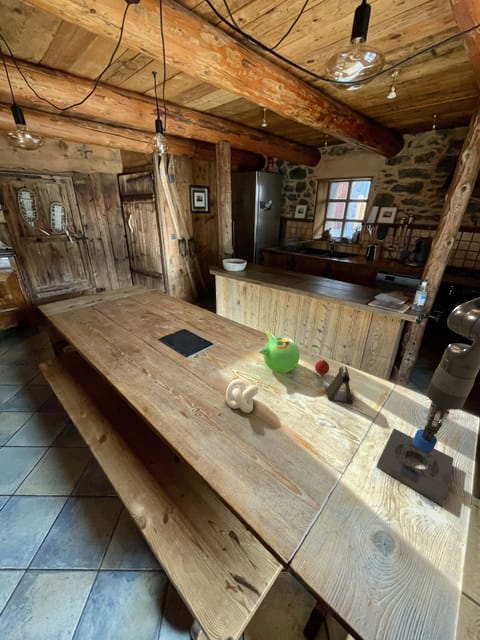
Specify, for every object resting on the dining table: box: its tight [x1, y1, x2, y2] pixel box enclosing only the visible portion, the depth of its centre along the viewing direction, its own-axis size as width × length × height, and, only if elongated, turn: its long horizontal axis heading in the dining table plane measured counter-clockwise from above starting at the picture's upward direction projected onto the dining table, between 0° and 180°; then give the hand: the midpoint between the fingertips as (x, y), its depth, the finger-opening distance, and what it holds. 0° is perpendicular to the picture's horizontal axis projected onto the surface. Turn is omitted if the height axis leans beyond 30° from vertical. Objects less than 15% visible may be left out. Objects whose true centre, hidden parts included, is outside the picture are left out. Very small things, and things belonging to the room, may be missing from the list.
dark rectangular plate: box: [375, 428, 454, 507], centre depth 77 cm, size 16×16×2 cm
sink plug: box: [413, 428, 438, 453], centre depth 72 cm, size 5×5×8 cm
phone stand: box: [326, 366, 354, 404], centre depth 101 cm, size 9×6×12 cm, turn 78°
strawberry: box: [314, 359, 330, 376], centre depth 114 cm, size 6×6×8 cm
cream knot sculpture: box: [225, 378, 259, 414], centre depth 97 cm, size 11×12×9 cm
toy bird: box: [258, 330, 301, 373], centre depth 117 cm, size 18×17×15 cm
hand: (427, 435), depth 72 cm, fingers closed on sink plug
